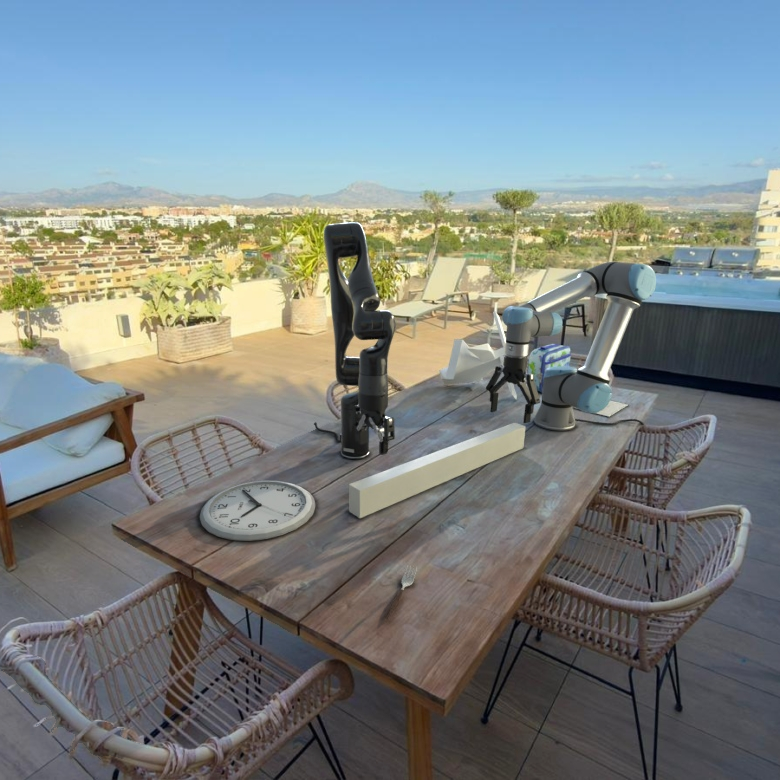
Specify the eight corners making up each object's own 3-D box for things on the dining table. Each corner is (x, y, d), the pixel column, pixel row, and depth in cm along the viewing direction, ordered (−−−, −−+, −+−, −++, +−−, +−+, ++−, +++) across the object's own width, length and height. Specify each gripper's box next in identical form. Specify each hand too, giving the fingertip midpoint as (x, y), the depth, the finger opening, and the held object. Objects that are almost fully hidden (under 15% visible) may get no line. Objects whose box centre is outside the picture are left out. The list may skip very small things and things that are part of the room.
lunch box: (542, 396, 239) (547, 351, 232) (522, 391, 246) (526, 347, 240) (570, 385, 256) (575, 343, 250) (550, 380, 263) (554, 339, 257)
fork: (380, 619, 101) (380, 610, 101) (406, 571, 116) (406, 563, 115) (393, 622, 101) (393, 614, 100) (417, 574, 115) (417, 566, 114)
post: (512, 443, 186) (514, 422, 183) (523, 448, 182) (525, 426, 180) (348, 511, 140) (348, 484, 138) (359, 518, 137) (359, 490, 134)
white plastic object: (461, 429, 252) (437, 405, 227) (444, 352, 274) (420, 323, 250) (535, 404, 240) (518, 377, 215) (510, 326, 262) (492, 293, 237)
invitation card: (608, 416, 214) (573, 407, 224) (608, 416, 214) (573, 408, 224) (628, 404, 229) (594, 396, 238) (628, 405, 229) (594, 397, 238)
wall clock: (312, 532, 127) (184, 536, 124) (312, 538, 127) (185, 542, 125) (317, 476, 155) (214, 478, 153) (318, 481, 156) (214, 483, 153)
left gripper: (344, 385, 135) (345, 443, 140) (380, 399, 125) (379, 461, 129) (367, 380, 140) (366, 437, 144) (403, 393, 129) (401, 453, 134)
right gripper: (478, 349, 177) (473, 409, 183) (542, 364, 159) (534, 430, 165) (492, 347, 181) (487, 405, 188) (556, 361, 164) (548, 425, 170)
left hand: (372, 448), depth 137 cm, fingers open, 8 cm apart
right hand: (509, 416), depth 176 cm, fingers open, 13 cm apart
